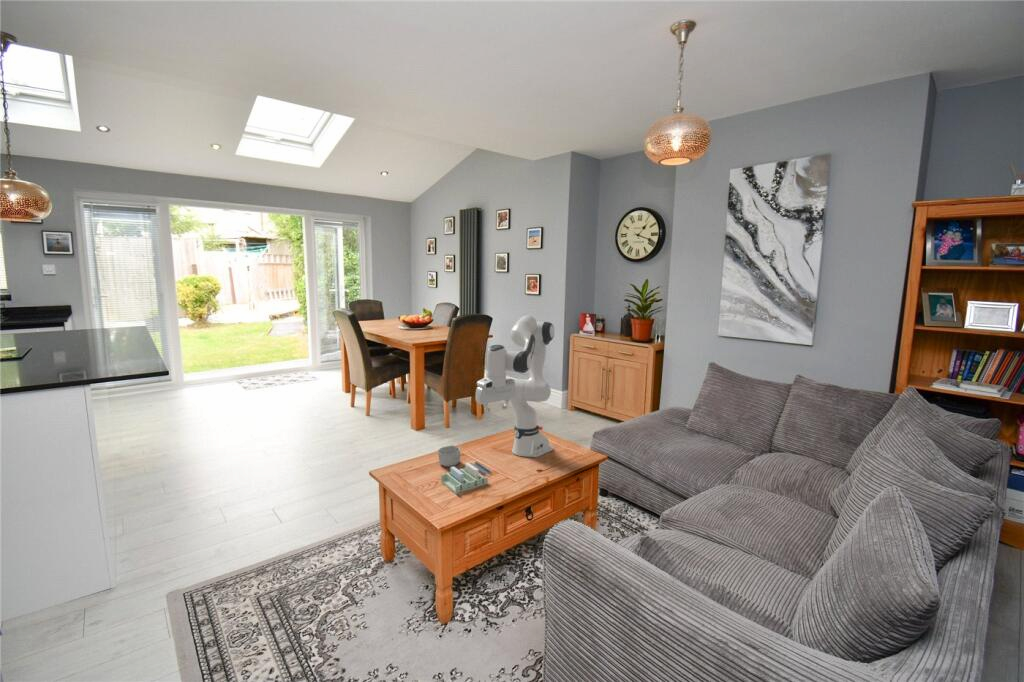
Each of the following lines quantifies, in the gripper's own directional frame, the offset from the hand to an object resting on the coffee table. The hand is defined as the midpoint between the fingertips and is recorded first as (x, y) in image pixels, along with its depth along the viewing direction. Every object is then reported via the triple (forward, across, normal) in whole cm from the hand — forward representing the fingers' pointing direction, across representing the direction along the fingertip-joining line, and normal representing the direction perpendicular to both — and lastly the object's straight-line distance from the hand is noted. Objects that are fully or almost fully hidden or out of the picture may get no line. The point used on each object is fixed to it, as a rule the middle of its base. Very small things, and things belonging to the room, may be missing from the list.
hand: (496, 410), depth 208 cm
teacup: (+31, +12, -23) cm, 41 cm away
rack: (+31, +17, 0) cm, 35 cm away
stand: (+31, +4, -8) cm, 32 cm away
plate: (+30, +13, 0) cm, 33 cm away
